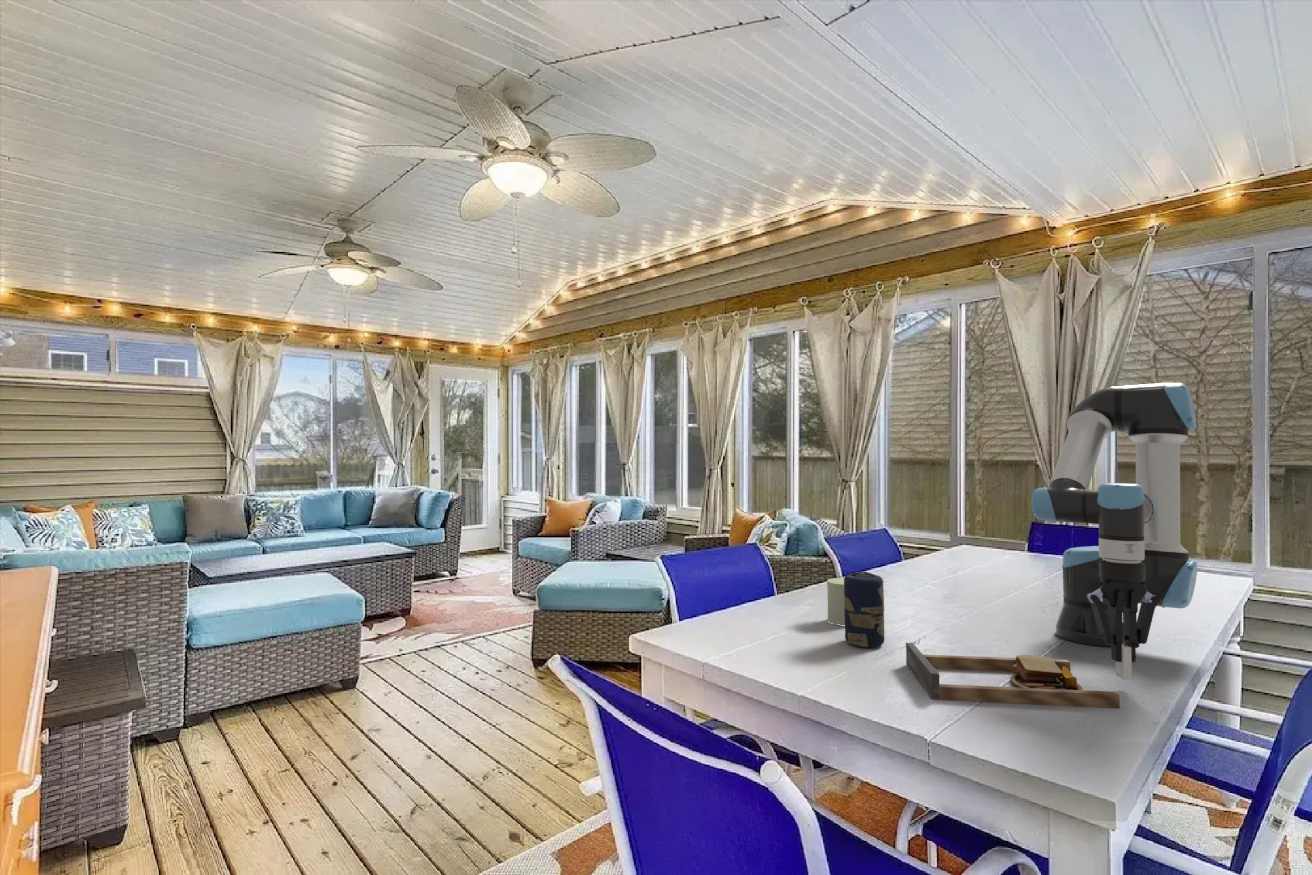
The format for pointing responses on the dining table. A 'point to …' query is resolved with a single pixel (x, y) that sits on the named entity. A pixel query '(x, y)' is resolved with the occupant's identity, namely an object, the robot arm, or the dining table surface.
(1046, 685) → the toy sandwich meal
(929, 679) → the open-ended frame
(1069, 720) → the dining table surface
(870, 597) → the canister
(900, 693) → the dining table surface
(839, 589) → the can
